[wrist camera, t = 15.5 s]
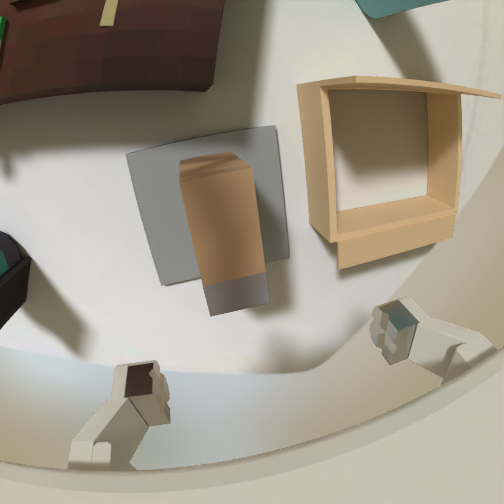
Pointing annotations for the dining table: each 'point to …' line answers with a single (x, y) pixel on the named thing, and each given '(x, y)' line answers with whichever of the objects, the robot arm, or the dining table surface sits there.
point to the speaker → (11, 279)
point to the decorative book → (106, 46)
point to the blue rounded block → (391, 6)
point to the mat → (172, 206)
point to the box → (225, 230)
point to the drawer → (396, 212)
